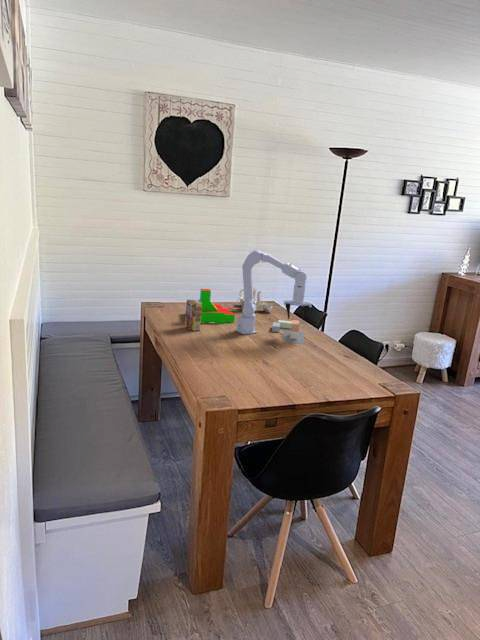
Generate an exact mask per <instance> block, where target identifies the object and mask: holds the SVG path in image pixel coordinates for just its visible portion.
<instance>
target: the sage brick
mask: <svg viewBox="0 0 480 640" xmlns="http://www.w3.org/2000/svg"><path fill="white" fill-rule="evenodd" d="M277 323H280V329H281V328H283V329H288V330H289V329H290V330H291V323H292V320H283V319H279V320H278V321H277Z"/></svg>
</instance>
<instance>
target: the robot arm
mask: <svg viewBox="0 0 480 640" xmlns="http://www.w3.org/2000/svg"><path fill="white" fill-rule="evenodd" d="M260 262H261V263H269V264H271V265H273V266H275V267H276V268H279V269H280V270H281V272H282V273H283V275H286V276H287V277H290V278H292V279H294V281H295V282H294V286H293V292H292V300H288V299H287V300H286V299H285V300H283V306H284V305H285V309H286V313H287V320H289V319H290V311H291V306H298V307H303V314H302V321H305V318H306V315H307V313H308V311H309V309H310V308H312V306H313V303H312V302H308V301H307V302H306V301H305V300H304V299H305V291H306V280H307V278H308V277H307V272H306V271H305V270H303V269H301V268H298V267H296V266H294V265H293V263H292V262H286V263H284V262H282V261H281V260H279V259H278V258H276V257H274V256H273V255H272V254H270V253H268V252H266V251H263V250H261V249H258V248H257V249H254V250H253V251H251V252H250V253H249V254H248V255H247V256H246V259H245V260H244V262H243V263H242V266H241V267H242V269H241V270H242V280H243V281H242V284H243V297H244V307H243V308H242V314H241V315H240V316H238V317H237V318H236V326H235V327H236V329H235V331H236V332H238V333H240V334H242V335H249V334H257V333H258V331H257V330H255V327H256V318H257V317H256V314H255V311H256V312H257V310H256V308H257V307H256V304H255V302H254V297H253V288H254V287H253V286H254V285H253V267H254V266H255V265H258V264H259V263H260Z"/></svg>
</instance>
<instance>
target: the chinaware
mask: <svg viewBox="0 0 480 640" xmlns="http://www.w3.org/2000/svg"><path fill="white" fill-rule="evenodd" d="M242 292H244V289H240V291H239V297H238V299H237V300H236V301H237V302H236V303H238V304H240V305H241V306H240V307H241V308H242V309H243V307H244V296H243V297H242V295H241V293H242ZM256 292H257V289H255V287H253V297H254V302H255V304H256V307H257V308H256V311H257V310H258V309H259V308H260V307H261V309H262V310H263V312H264V311H265V312H264V313H271V312H272V311H273V307H275V304H274V303H272V302H264V301H263V302H261V301H262V300H261V295H260V294H261V293H262V292H261V291H258V292H257V295H256Z"/></svg>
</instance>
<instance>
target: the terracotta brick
mask: <svg viewBox="0 0 480 640" xmlns="http://www.w3.org/2000/svg"><path fill="white" fill-rule="evenodd" d="M291 321H292V323H291V329H290V331H293V332H300V320H297V319H291Z"/></svg>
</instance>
